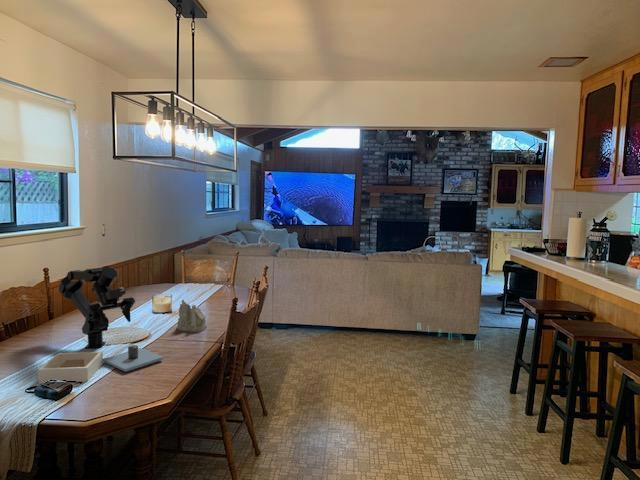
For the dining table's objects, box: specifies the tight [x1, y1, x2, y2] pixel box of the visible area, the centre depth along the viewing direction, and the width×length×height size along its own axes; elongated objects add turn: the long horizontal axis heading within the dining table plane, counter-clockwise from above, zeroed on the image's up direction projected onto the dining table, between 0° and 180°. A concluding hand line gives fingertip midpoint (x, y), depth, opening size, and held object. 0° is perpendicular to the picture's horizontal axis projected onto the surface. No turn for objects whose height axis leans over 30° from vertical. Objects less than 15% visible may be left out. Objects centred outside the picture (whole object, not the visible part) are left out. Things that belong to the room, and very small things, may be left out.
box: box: [37, 351, 104, 384], centre depth 163 cm, size 16×16×5 cm
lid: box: [103, 344, 164, 372], centre depth 174 cm, size 16×16×6 cm
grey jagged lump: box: [176, 299, 208, 333], centre depth 222 cm, size 16×16×15 cm
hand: (119, 323), depth 179 cm, fingers open, 9 cm apart
